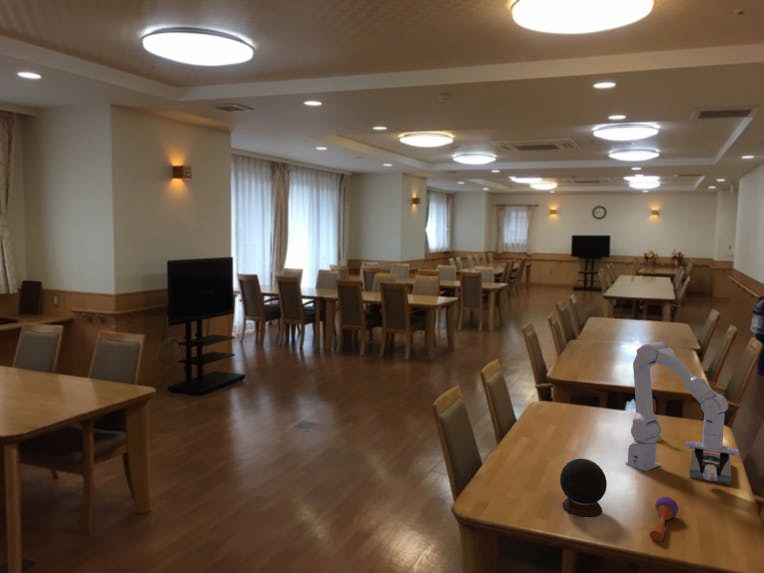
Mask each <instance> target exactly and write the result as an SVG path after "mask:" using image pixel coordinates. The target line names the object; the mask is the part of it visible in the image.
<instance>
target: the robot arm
mask: <svg viewBox="0 0 764 573" xmlns="http://www.w3.org/2000/svg"><path fill="white" fill-rule="evenodd" d="M656 364H657V365H662V366H666V367H668V368H669V369H670V370H671V371H672V372H673V373H675V375H676V376H678V377H679V379H681V380H682V381H683V382H684V383H685V389H686V390H687V391H688V393H690V394H691V396H693V398H695V400H696V401H697V402H698V403H699V404H700V407H701V408H700V409H701V410H702V412H703V426H702V442H700V441H690V440H689V441H688V440H686V449H688V450H695V455H696V457H697V460H698V463H699V466H700V473H703V452H708V453H714V454H719V455H720V460H719V468H718V476H721V472H722V469H723V467H724V465H725V464H726V462H727V461H728V459H729V456H733V457H735V458H738V457H739V449H738V448H734V447H733V448H732V447H728V446H726V445H723V442H724V431H725V430H724V428H725V415H726V414H725V412H726V411H727V410H728V409H729V401H728V399H727V398H726V397H725V396H724V395H722V394H719V393H718V392H717V391H715V390H713V389H712V388H711V387H710V386H709V384H708V383H707V380H706V379H705V378H702V377H699V376H695V375H694V374H693V373H692V372H691V371H690V370H689V369H688V368H687V367H686V365H685V364H684V363H683V362H682V361H681V360H680V359H679V357H678V356H676V354H675V352H674V350H673V349H672V348H671V347H669V345H668V344H667V343H665V342H664V341H662V340H660V341H656V342H651V343H643V344H642V345H641V346H639V347H638V348H637V349H636V355H635V357H634V359H633V362H632V368H633V369H632V370H633V381H634V382H633V383H634V395H635V408H636V413H635V415H634V416H633V418H632V425H631V428H630V434H631V437H632V438H633V442H631V444H630V445H629V446H628V449H627V450H628V451H627V461H626V462H625V465H628V466H630V467H634V468H636V469H639V470H642V471H644V472H647V471H649V470H652V469H655V468H657V467H660V466H661V465H662V464H661V463H659V462H656V460H657V459H656V458H657V457H656V456H657V436H659V435H661V433H662V427H661V425H660V422H659V420H658V416H657V415H656V413H655V414H654V413H653V401H652V399H653V390H652V389H653V388H652V377H651V368H652V367H653V366H655V365H656Z"/></svg>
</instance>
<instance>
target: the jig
mask: <svg viewBox="0 0 764 573" xmlns="http://www.w3.org/2000/svg"><path fill="white" fill-rule="evenodd" d="M705 460H710V461H714V462H717V463H718V464H719V460H720V453H714V452H708V451H703V461H705ZM689 478H690V479H695V480H702V481H707V482H712V483H717V484H722V485H726V486H727V485H728V486H731V485H732V465H731V455H729V459H728V461H727V462H726V464H725V465H724V467H723V469H722V472H721V476H718V480H716V481H711V480H707V479H704V478H703V477H702V473H700V466H699V463H698V460H697V457H696V455H695V449H691V458H690V468H689Z"/></svg>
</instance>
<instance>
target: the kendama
mask: <svg viewBox="0 0 764 573" xmlns="http://www.w3.org/2000/svg"><path fill="white" fill-rule="evenodd" d="M654 507H655V511H656V513H657V515H658V517H659V519H658V521H657V522H656V524H655V526H654V527H653V528H652V529H651V531H650V533H649V537H650V539H651V540H652V541H653V542H657V543H661V542H663V540H664V537H665V536H664V534H665V524H666V521H668V520H670V519H673V518H675V517H676V516H677V515H678V513H679V506H678V504H677V502H676V501H675V499H674V498H673V497H670V496H661V497H659V498H658V499H657V500H656V501H655V506H654Z"/></svg>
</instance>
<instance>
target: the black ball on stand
mask: <svg viewBox="0 0 764 573" xmlns="http://www.w3.org/2000/svg"><path fill="white" fill-rule="evenodd" d="M607 482H608V481H607V478H606V474H605V472H604V470H603V469H602V468H601V467H600V465H598V464H597V463H596V462H595V461H592V460H590V459H587V458H576V459H572V460H570V461H568V462H567V463H566V464H565V465H564V466H563V468H562V469H561V473H560V477H559V483H560V488H561V490H562V492H563V494H564V495H565V497H566V498H565V499H564V500H563V501H562V506H563V507H562V509H563V510H564V511H565V512H566V511H567V512H566V513H567V514H569V515H572V514H573V515H572V516H574V515H576V516H575V517H578V516H579V517H578V518H584V517H589V518H588V519H590V518H591V517H594V518H597V516H598V517H600V516H601V515H602V513H603V508H602V506H601V505H600V503H599V501H600V500H601V499H602V498H603V497H604V496H605V494H606V492H607V487H608V486H607V485H608V484H607Z"/></svg>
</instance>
